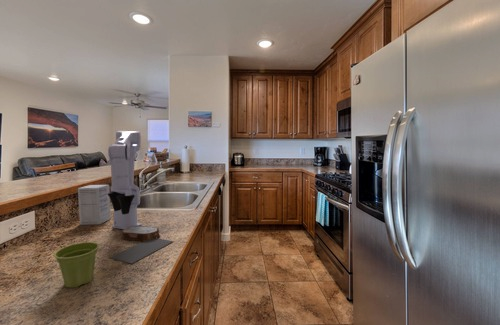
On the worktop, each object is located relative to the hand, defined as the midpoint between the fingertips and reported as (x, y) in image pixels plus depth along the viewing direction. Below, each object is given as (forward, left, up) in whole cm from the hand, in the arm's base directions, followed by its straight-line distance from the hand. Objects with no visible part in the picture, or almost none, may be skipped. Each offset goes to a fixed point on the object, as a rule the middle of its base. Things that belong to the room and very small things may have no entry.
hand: (121, 212), depth 91 cm
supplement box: (-30, +10, -11) cm, 33 cm away
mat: (+15, -4, -10) cm, 19 cm away
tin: (+5, 0, -9) cm, 10 cm away
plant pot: (+15, -25, -11) cm, 31 cm away
